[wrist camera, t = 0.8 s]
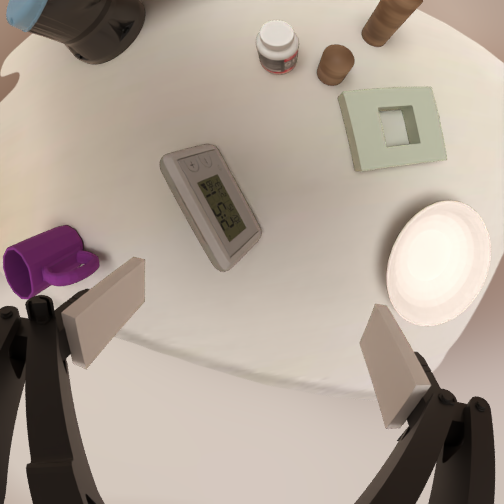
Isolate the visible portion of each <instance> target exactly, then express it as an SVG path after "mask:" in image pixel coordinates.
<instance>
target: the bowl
mask: <svg viewBox="0 0 504 504" xmlns="http://www.w3.org/2000/svg"><path fill="white" fill-rule="evenodd" d="M490 258H491V245H490V238H489V234H488V230H487V228H486V226H485V224H484V222H483V220H482V218H481V217H480V216H479V215H478V213H477V212H476V211H475V210H474V209H472V208H471V207H470V206H468V205H466V204H464V203H461V202H459V201H451V200H447V201H440V202H436V203H434V204H432V205H429V206H427V207H425V208H424V209H422V210H421V211H419V212H418V213H417V214H416V215H415V216H414V217H413V218H412V219H411V220H410V221H409V222H408V223H407V224H406V225H405V227H404V228H403V229H402V231H401V232H400V234H399V235H398V237H397V239H396V241H395V243H394V245H393V247H392V251H391V254H390V257H389V260H388V266H387V273H386V279H387V290H388V295H389V299H390V301H391V303H392V305H393V307H394V309H395V310H396V311H397V312H398V314H399V315H400V316H401V317H403V318H404V319H405V320H407V321H408V322H411V323H413V324H416V325H421V326H434V325H439V324H442V323H445V322H447V321H449V320H451V319H453V318H455V317H456V316H458V315H459V314H461V313H462V312H463V311H464V310H465V309H466V308H467V307H468V306H469V305H470V304H471V303H472V302H473V301H474V299H475V298H476V296H477V295H478V294H479V292H480V290H481V288H482V286H483V284H484V282H485V279H486V277H487V274H488V270H489V265H490Z"/></svg>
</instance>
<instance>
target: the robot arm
mask: <svg viewBox="0 0 504 504" xmlns="http://www.w3.org/2000/svg"><path fill="white" fill-rule="evenodd" d="M6 17H7V21H8V23H9V24H10V25H12V26H14V27H16V28H18V29H21V30H22V31H24V32H30V33H34V34H37V35H40V36H43V37H46V38H49V39H52V40H55V41H58V42H61V43H64V44H65V45H66V46H67V47H68V49H69V50H70V51H71V52H72V53H73V54H74V56H75V57H76V58H78V59H79V60H81V61H84V62H86V63H89V64H100V63H104V62H107V61H109V60H111V59H113V58H115V57H116V56H118V55H119V54H120V53H122V52H123V51H124V50H125V49H126V48H127V47H128V46H129V45H130V44H131V43H132V42H133V41H134V39H135V38H136V36H137V35H138V33H139V32H140V30H141V28H142V25H143V22H144V18H145V9H144V6H143V4H142V3H141V1H139V0H10V1H9V3H8V7H7V14H6ZM144 302H145V259H141V258H136V257H133V258H131V259H130V260H129V261H127V262H126V263H124V264H123V265H122V266H120V267H119V268H118V269H116V270H115V271H114V272H112V273H111V274H110V275H108V276H107V277H106V278H104V279H103V280H102V281H100V282H99V283H98V284H97V285H95V286H94V287H93V288H91V289H85V290H82V291H79V292H78V293H76V294H75V295H74V296H72V298H70V299H68V300H67V302H65V303H63V304H62V305H61V306H60V307H58V308H57V309H56V310H54V306H53V301H52V299H51V298H50V297H48V296H45V295H38V296H34V297H32V298H30V299H29V300H27V302H26V304H25V305H26V310H27V314H28V318H29V319H28V318H21V317H20V315H19V311H18V309H17V308H16V307H13V306H5V307H2V308H1V309H0V504H4V499H5V494H6V485H7V473H8V463H9V455H10V448H11V441H12V436H13V430H14V425H15V420H16V416H17V410H18V407H19V403H20V398H21V395H22V391H23V387H24V384H25V392H26V394H25V396H26V418H27V430H28V440H29V447H30V455H31V463H29V464H27V467H26V472H27V478H28V484H29V488H30V493H31V497H32V501H33V504H104V502H103V500H102V498H101V497H100V495H99V493H98V490H97V488H96V485H95V482H94V479H93V477H92V473H91V471H90V467H89V464H88V461H87V457H86V454H85V450H84V447H83V443H82V439H81V436H80V431H79V427H78V423H77V418H76V414H75V409H74V404H73V398H72V393H71V386H70V379H69V372H68V364H67V361H66V358H67V357H68V356H69V355H70V354H71V357H72V361H73V364H76V365H78V366H80V367H82V368H84V369H87V368H88V367H89V366H90V364H91V363H92V362H93V361H94V360H95V358H96V357H97V356H98V355H99V354H100V352H101V351H102V350H103V349H104V348H105V347H106V345H107V344H108V343H109V342H110V341H111V339H112V338H113V337H114V336H115V335H116V334H117V333H118V331H119V330H120V329H121V328H122V327H123V326H124V324H125V323H126V322H127V321H128V320H129V319H130V318H131V317H132V315H133V314H134V313H135V312H136V311H137V310H138V309H139V308H140V306H141V305H142V304H143V303H144ZM360 346H361V349H362V352H363V355H364V358H365V361H366V364H367V367H368V371H369V374H370V377H371V380H372V383H373V386H374V390H375V393H376V396H377V400H378V403H379V406H380V410H381V413H382V417H383V421H384V424H385V428H386V429H393V428H401V426H402V425H403V424H404V423H405V421H406V420H407V421H408V424H409V427H408V428H407V429H406V430H405V431H404V433H403V434H402V435H401V436H400V438H399V439H398V440H397V441H399V442H398V443H397V445H396V447H395V449H394V450H393V452H392V453H391V455H390V456H389V458H388V459H387V461H386V462H385V464H384V465H383V466H382V468H381V470H380V471H379V472H378V474H377V475H376V477H375V478H374V479H373V480H372V482H371V483H370V485H369V486H368V487H367V488H366V490H365V491H364V492H363V494H362V495H361V496H360V497H359V499H358V500H357V501H356V502H355V503H354V504H416V502H417V500H418V498H419V496H420V494H421V493H422V491H423V489H424V487H425V485H426V483H427V481H428V479H429V477H430V475H431V472H432V470H433V468H434V466H435V464H436V469H435V474H434V480H433V485H432V490H431V495H430V499H429V504H494V494H495V451H494V450H495V449H494V435H493V425H492V416H491V409H490V406H489V404H488V403H487V401H486V400H485V399H483V398H481V397H472V399H471V400H470V401H469V402H468V404H464V403H459V402H457V400H456V397H455V396H454V395H453V394H452V393H451V392H450V391H448V390H445V389H441V388H440V387H439V385H438V383H437V381H436V379H435V377H434V375H433V373H432V372H431V370H430V368H429V366H428V364H427V363H426V361H425V359H424V358H423V357H422V356H421V355H420V354H419V353H418V352H414V351H413V350H412V348H411V346H410V344H409V342H408V341H407V339H406V337H405V335H404V334H403V332H402V330H401V329H400V327H399V325H398V323H397V322H396V320H395V318H394V317H393V315H392V313H391V312H390V310H389V308H388V307H387V306H386V305H380V304H375V306H374V308H373V311H372V314H371V316H370V319H369V321H368V324H367V326H366V329H365V331H364V334H363V336H362V338H361V341H360ZM436 461H437V462H436Z"/></svg>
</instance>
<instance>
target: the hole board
mask: <svg viewBox="0 0 504 504" xmlns="http://www.w3.org/2000/svg"><path fill="white" fill-rule="evenodd" d="M338 101H339V104H340V108H341V112H342V116H343V120H344V124H345V128H346V132H347V136H348V141H349V145H350V150H351V154H352V159H353V164H354V169H355V171H368V170H375V169H381V168H388V167H395V166H403V165H410V164H418V163H426V162H435V161H444V160H447V155H446V149H445V143H444V138H443V133H442V128H441V123H440V119H439V115H438V110H437V106H436V102H435V99H434V95H433V91H432V88H431V87H392V88H376V89H364V90H353V91H344V92H342V94H341V95H340V96H339V97H338ZM400 109H402V113H403V117H404V121H405V125H406V130H407V134H408V139H409V144H408V145H399V146H390V147H387V146H386V141H385V136H384V132H383V127H382V123H381V119H380V115H379V111H387V110H400Z"/></svg>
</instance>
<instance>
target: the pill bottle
mask: <svg viewBox="0 0 504 504" xmlns="http://www.w3.org/2000/svg"><path fill="white" fill-rule="evenodd" d="M256 47H257V50H258V54H259V58H260V62H261V65H262V66H263V68H264V69H265V70H267V71H268V72H270V73H273V74H285V73H288V72H290V71H291V70H292V69H293V68H294V67H295V65H296V62H297V57H298V48H299V40H298V37H297V35H296V33H295V32H294V30H293V28H292V27H291V26H290V25H289V24H288V23H286V22H284V21H281V20H272V21H269V22H267V23H265V24H264V25H263V26H262V27H261V29H260V32H259V33H258V35H257V37H256Z"/></svg>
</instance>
